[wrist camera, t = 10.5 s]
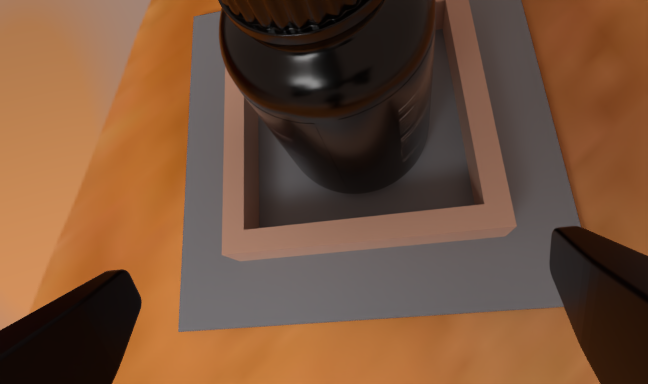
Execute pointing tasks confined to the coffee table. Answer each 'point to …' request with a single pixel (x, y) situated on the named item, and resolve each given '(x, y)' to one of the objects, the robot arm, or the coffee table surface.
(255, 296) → the dock tray
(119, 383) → the coffee table surface
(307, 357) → the coffee table surface
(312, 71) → the supplement bottle
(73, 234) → the coffee table surface
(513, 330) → the coffee table surface
